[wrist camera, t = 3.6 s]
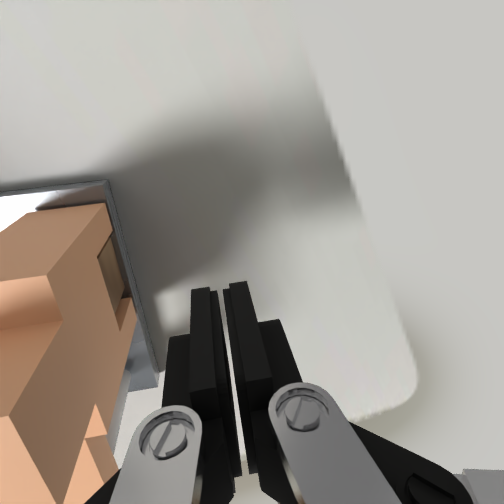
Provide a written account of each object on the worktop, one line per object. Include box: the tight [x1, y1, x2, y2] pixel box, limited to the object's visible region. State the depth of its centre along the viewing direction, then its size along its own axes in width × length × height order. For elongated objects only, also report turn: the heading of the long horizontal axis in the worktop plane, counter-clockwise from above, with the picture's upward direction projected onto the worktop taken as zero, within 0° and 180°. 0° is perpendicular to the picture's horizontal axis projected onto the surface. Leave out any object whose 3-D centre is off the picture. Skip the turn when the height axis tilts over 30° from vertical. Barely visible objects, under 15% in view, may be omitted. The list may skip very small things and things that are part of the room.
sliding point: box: [0, 203, 137, 504], centre depth 12 cm, size 10×3×9 cm, turn 5°
